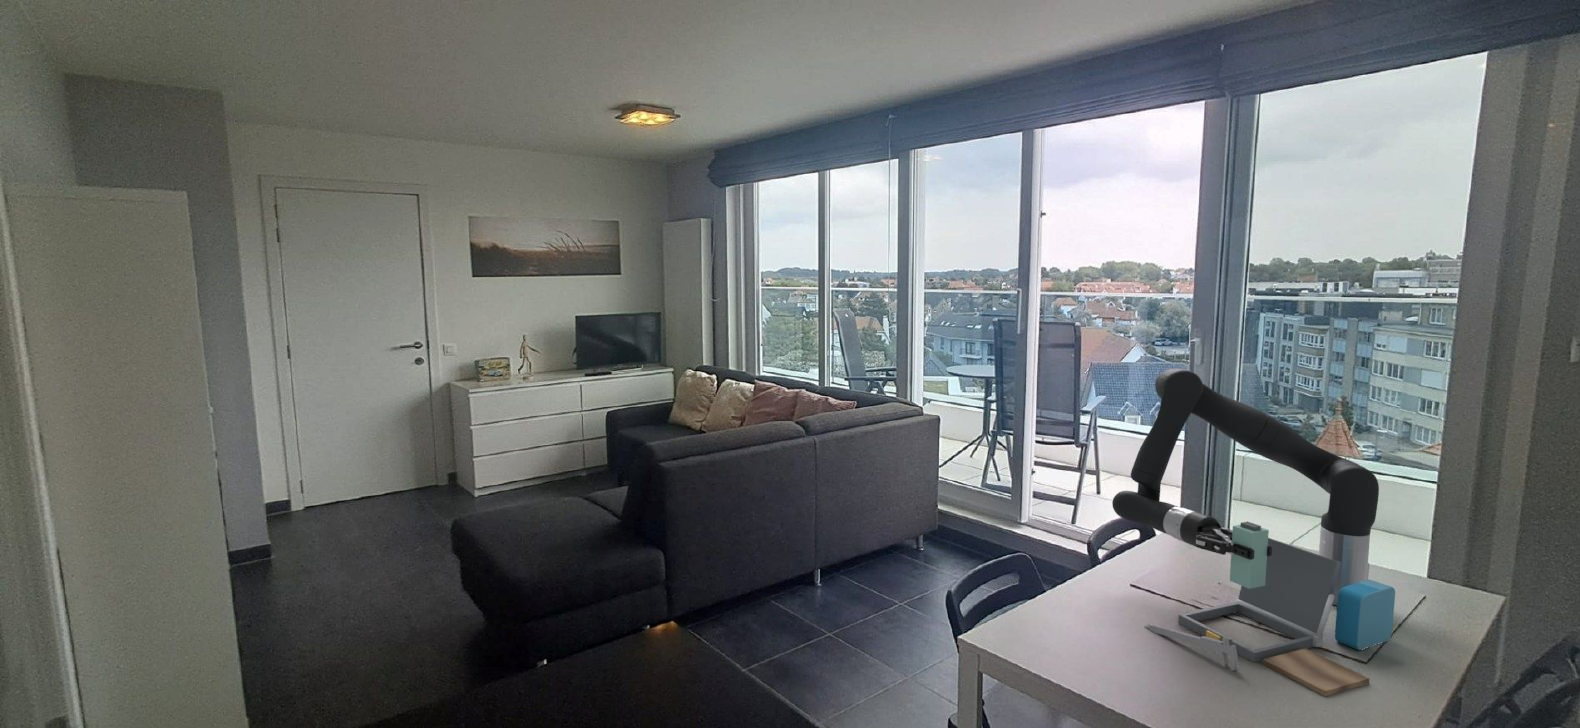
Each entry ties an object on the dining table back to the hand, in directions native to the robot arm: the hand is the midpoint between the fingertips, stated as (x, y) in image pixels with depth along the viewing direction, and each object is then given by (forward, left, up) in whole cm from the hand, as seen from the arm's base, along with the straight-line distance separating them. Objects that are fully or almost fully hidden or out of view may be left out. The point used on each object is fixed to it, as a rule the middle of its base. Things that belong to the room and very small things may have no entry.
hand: (1261, 553), depth 148 cm
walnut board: (0, +12, -20) cm, 23 cm away
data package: (-22, +7, -20) cm, 31 cm away
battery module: (0, -3, -7) cm, 8 cm away
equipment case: (-5, -3, -20) cm, 21 cm away
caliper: (+14, -4, -20) cm, 25 cm away
